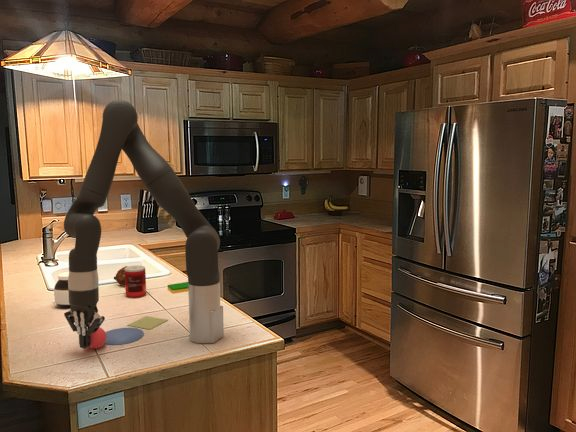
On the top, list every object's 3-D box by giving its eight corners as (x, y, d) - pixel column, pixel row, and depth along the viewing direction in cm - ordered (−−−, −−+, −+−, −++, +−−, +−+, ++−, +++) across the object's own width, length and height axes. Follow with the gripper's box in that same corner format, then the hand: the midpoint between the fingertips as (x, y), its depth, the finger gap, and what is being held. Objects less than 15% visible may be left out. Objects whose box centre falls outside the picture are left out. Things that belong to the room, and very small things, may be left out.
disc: (153, 331, 144) (153, 331, 144) (123, 347, 132) (123, 347, 132) (120, 325, 149) (120, 325, 149) (88, 340, 137) (88, 340, 137)
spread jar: (70, 310, 164) (68, 278, 162) (42, 308, 166) (40, 276, 165) (91, 299, 176) (89, 269, 174) (65, 298, 178) (63, 268, 176)
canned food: (138, 291, 186) (137, 264, 185) (150, 294, 181) (149, 267, 180) (121, 295, 181) (120, 268, 179) (133, 299, 176) (131, 271, 174)
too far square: (167, 320, 154) (167, 319, 154) (149, 329, 146) (149, 329, 146) (146, 316, 157) (146, 316, 157) (127, 325, 149) (127, 325, 149)
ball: (101, 353, 130) (114, 336, 134) (89, 338, 127) (103, 322, 132) (86, 352, 133) (100, 336, 137) (75, 338, 130) (88, 322, 134)
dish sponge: (167, 290, 189) (167, 284, 189) (199, 285, 196) (199, 279, 196) (172, 295, 183) (172, 289, 183) (206, 289, 190) (205, 283, 190)
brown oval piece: (128, 292, 190) (122, 289, 200) (144, 278, 193) (137, 275, 203) (114, 277, 187) (108, 275, 197) (130, 263, 190) (124, 261, 201)
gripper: (112, 285, 127) (113, 346, 129) (76, 279, 132) (77, 338, 134) (91, 292, 120) (92, 356, 122) (54, 286, 125) (55, 347, 127)
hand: (84, 347), depth 128 cm, fingers closed
